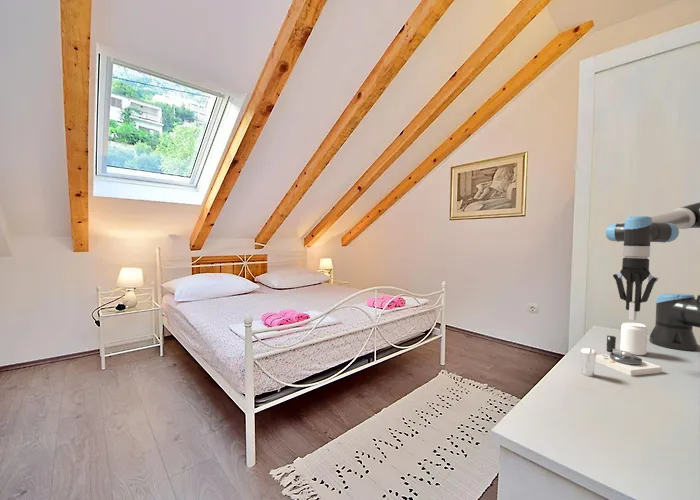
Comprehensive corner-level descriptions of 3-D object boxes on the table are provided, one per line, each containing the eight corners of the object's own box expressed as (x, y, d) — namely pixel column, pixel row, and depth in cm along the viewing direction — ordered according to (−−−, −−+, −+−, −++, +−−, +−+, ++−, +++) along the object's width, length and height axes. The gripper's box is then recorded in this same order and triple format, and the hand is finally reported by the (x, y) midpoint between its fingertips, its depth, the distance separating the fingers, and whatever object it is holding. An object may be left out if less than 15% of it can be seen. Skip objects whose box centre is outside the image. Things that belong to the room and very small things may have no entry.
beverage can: (635, 349, 136) (637, 321, 136) (651, 356, 128) (653, 327, 127) (615, 348, 137) (616, 321, 136) (629, 355, 129) (631, 326, 128)
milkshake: (581, 376, 109) (582, 348, 109) (578, 370, 114) (580, 343, 114) (598, 379, 107) (599, 350, 107) (594, 373, 112) (595, 345, 111)
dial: (648, 363, 115) (649, 344, 115) (628, 365, 113) (629, 346, 113) (616, 352, 126) (617, 334, 126) (598, 354, 124) (598, 336, 124)
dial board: (620, 357, 127) (620, 352, 127) (661, 372, 113) (661, 366, 113) (592, 360, 124) (592, 354, 124) (630, 375, 110) (630, 369, 110)
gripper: (662, 258, 116) (658, 322, 117) (618, 256, 127) (615, 314, 128) (655, 258, 112) (651, 324, 113) (610, 256, 123) (607, 316, 124)
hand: (632, 319), depth 120 cm, fingers closed
